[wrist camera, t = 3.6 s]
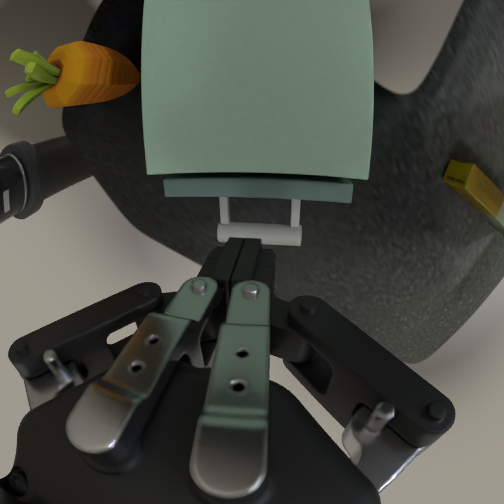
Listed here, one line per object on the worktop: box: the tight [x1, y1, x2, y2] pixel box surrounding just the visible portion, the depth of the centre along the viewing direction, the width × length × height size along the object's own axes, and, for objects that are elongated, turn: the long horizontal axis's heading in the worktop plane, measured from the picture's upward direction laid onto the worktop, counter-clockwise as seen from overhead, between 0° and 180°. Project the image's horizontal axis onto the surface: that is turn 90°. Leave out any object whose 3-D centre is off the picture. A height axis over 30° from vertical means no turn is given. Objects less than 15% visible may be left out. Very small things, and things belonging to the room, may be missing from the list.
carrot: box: [5, 41, 141, 115], centre depth 14 cm, size 5×5×15 cm
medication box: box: [443, 159, 504, 235], centre depth 19 cm, size 12×3×4 cm, turn 68°
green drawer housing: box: [141, 0, 374, 180], centre depth 15 cm, size 15×13×10 cm
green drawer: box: [163, 172, 353, 246], centre depth 17 cm, size 18×11×8 cm, turn 0°
